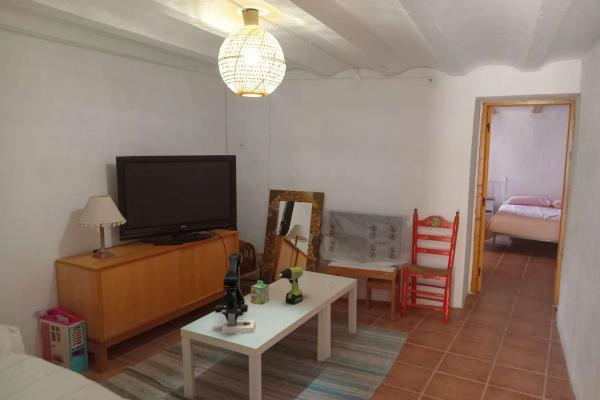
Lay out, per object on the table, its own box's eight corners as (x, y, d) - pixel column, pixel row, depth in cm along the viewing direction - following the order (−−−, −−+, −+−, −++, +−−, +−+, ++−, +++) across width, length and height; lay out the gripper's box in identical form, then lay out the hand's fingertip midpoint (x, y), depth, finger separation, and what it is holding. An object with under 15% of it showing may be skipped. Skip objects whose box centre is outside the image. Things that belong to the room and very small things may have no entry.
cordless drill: (283, 309, 288) (282, 272, 285) (275, 307, 292) (274, 271, 289) (304, 299, 306) (304, 264, 303) (296, 297, 310) (296, 263, 307)
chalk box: (250, 302, 302) (250, 282, 300) (258, 298, 310) (257, 278, 308) (262, 304, 297) (261, 283, 296) (269, 300, 306) (268, 280, 304)
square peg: (229, 325, 261) (228, 312, 260) (236, 325, 261) (235, 312, 260) (228, 328, 257) (227, 315, 256) (235, 327, 257) (234, 314, 256)
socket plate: (225, 325, 265) (225, 320, 264) (255, 324, 265) (255, 319, 265) (222, 333, 253) (222, 328, 252) (253, 332, 253) (253, 327, 253)
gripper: (212, 302, 248) (213, 328, 250) (245, 301, 249) (246, 327, 250) (216, 295, 259) (217, 320, 261) (247, 294, 260) (248, 320, 262)
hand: (232, 322), depth 258 cm, fingers closed on square peg, 4 cm apart
